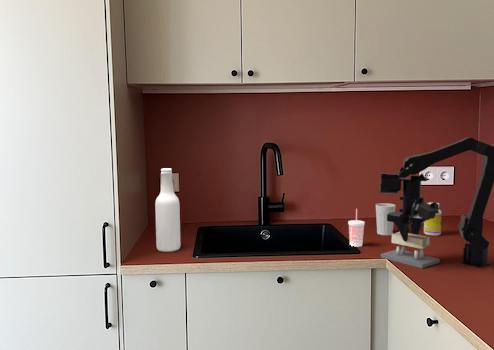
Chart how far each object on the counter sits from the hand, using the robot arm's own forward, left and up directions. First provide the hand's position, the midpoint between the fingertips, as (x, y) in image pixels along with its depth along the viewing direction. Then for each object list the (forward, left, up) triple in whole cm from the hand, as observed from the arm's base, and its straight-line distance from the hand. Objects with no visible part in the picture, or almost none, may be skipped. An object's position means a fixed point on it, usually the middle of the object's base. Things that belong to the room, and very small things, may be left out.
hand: (410, 239), depth 164 cm
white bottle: (+64, +57, -7) cm, 86 cm away
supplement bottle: (+16, -39, -7) cm, 43 cm away
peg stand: (0, 0, -7) cm, 7 cm away
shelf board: (0, 0, -2) cm, 2 cm away
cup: (+29, -25, -7) cm, 39 cm away
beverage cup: (+24, -1, -7) cm, 25 cm away
